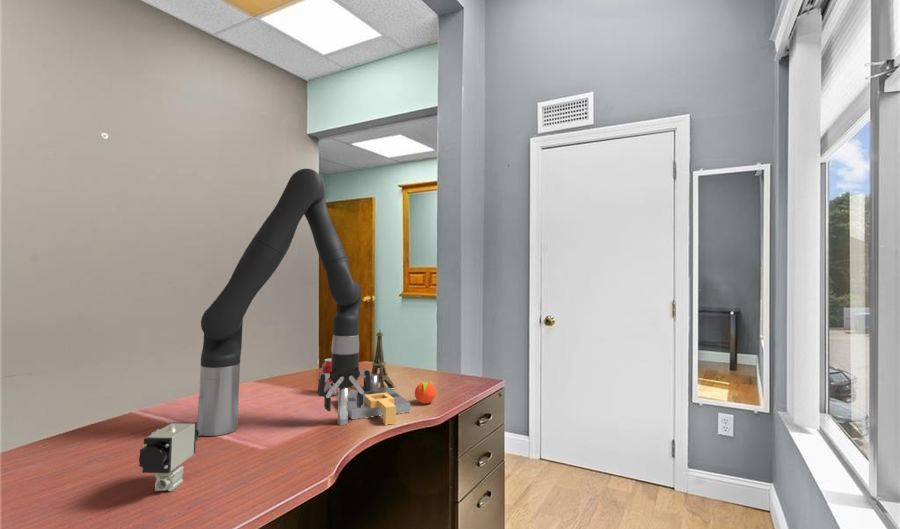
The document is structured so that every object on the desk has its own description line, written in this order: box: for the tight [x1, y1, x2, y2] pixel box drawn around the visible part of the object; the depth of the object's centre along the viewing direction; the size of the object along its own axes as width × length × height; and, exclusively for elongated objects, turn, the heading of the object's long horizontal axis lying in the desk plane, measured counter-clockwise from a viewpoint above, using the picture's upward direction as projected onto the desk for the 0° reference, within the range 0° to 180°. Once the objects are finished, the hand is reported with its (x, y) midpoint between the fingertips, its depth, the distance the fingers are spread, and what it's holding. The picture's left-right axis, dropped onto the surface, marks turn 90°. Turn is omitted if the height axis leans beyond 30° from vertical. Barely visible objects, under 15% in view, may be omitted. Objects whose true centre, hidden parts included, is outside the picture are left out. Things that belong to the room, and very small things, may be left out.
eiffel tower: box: [362, 330, 396, 388], centre depth 159 cm, size 11×11×25 cm
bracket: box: [364, 393, 397, 425], centre depth 128 cm, size 7×15×5 cm, turn 27°
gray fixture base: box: [335, 373, 411, 420], centre depth 138 cm, size 18×20×10 cm
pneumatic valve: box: [138, 421, 199, 492], centre depth 84 cm, size 6×12×12 cm, turn 2°
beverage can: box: [321, 358, 339, 397], centre depth 151 cm, size 6×6×12 cm
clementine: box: [414, 381, 437, 404], centre depth 143 cm, size 8×7×7 cm
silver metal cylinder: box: [337, 387, 350, 426], centre depth 122 cm, size 3×3×10 cm
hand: (343, 408), depth 122 cm, fingers open, 8 cm apart
